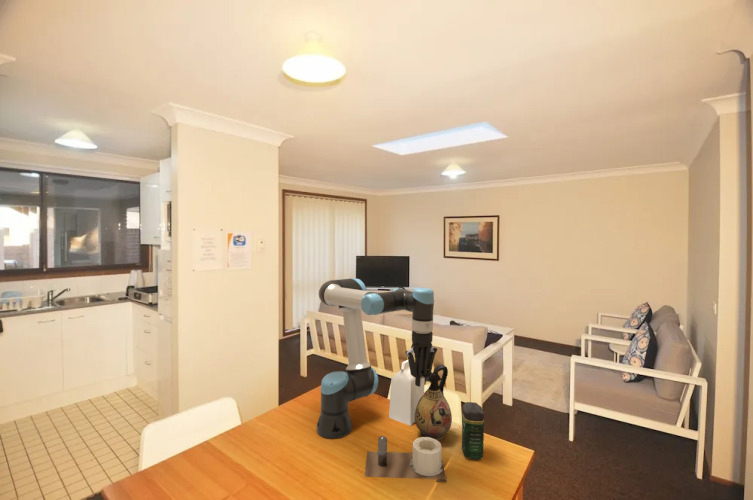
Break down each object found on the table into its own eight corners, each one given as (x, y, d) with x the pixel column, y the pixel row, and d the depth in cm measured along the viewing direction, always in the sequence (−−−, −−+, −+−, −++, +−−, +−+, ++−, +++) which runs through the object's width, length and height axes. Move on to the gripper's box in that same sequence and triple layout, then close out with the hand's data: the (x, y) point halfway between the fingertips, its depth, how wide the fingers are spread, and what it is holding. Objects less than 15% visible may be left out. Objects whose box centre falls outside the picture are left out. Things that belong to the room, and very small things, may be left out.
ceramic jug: (428, 450, 134) (429, 375, 133) (407, 431, 148) (408, 362, 147) (462, 439, 142) (463, 367, 141) (439, 421, 155) (440, 356, 155)
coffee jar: (485, 462, 127) (486, 412, 127) (463, 460, 128) (464, 411, 128) (480, 446, 137) (481, 400, 136) (460, 445, 138) (460, 399, 137)
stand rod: (376, 464, 124) (376, 437, 124) (380, 459, 127) (380, 432, 126) (384, 467, 122) (384, 439, 122) (388, 462, 125) (388, 435, 125)
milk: (402, 407, 168) (402, 355, 168) (423, 414, 162) (423, 360, 161) (388, 417, 159) (389, 362, 158) (410, 425, 152) (410, 367, 151)
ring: (414, 473, 119) (414, 453, 119) (411, 455, 129) (411, 436, 129) (443, 473, 119) (443, 453, 118) (438, 455, 129) (438, 437, 128)
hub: (404, 469, 122) (404, 452, 121) (417, 451, 132) (418, 435, 132) (436, 481, 116) (436, 463, 115) (448, 461, 126) (448, 445, 126)
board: (364, 479, 118) (364, 476, 118) (367, 453, 132) (367, 451, 132) (446, 482, 116) (446, 479, 116) (440, 456, 130) (440, 453, 130)
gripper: (413, 335, 118) (411, 402, 120) (443, 331, 125) (440, 394, 126) (401, 330, 125) (399, 393, 126) (430, 326, 131) (428, 386, 132)
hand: (420, 393), depth 126 cm, fingers closed
